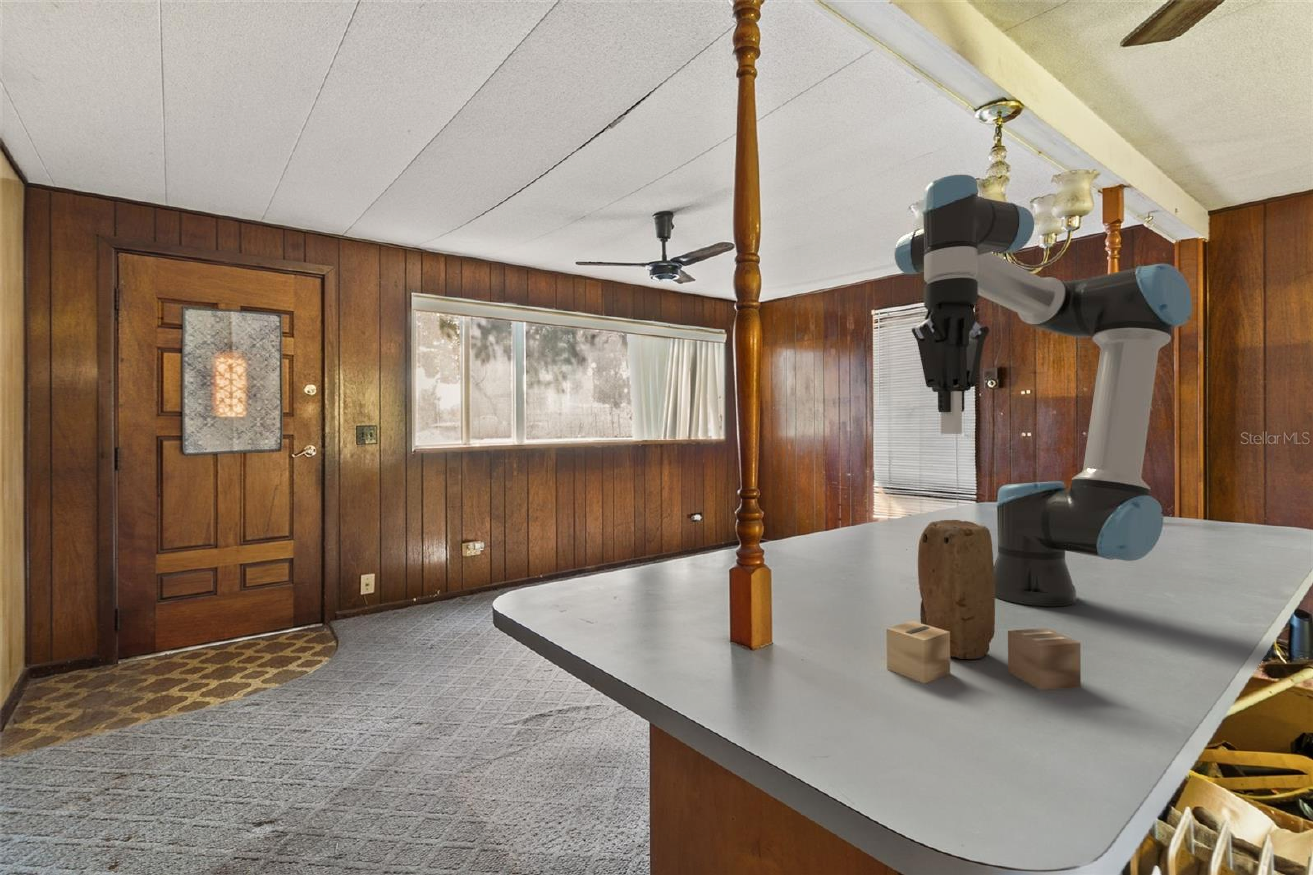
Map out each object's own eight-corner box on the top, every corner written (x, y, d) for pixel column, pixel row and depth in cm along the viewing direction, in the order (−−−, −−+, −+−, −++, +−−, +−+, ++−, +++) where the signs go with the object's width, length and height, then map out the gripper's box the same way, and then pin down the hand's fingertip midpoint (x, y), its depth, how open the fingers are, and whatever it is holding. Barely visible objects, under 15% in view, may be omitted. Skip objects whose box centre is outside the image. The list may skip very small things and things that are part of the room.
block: (1000, 660, 91) (999, 526, 91) (956, 664, 90) (955, 529, 89) (951, 635, 102) (950, 516, 102) (911, 639, 100) (910, 518, 100)
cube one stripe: (912, 660, 92) (912, 620, 92) (950, 673, 87) (949, 631, 87) (887, 669, 89) (886, 627, 89) (924, 684, 84) (923, 639, 84)
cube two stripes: (1046, 669, 88) (1046, 627, 88) (1080, 687, 82) (1080, 642, 82) (1008, 672, 87) (1007, 630, 87) (1039, 690, 81) (1039, 645, 81)
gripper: (965, 288, 100) (966, 432, 101) (898, 284, 96) (899, 434, 97) (1003, 278, 93) (1004, 433, 93) (933, 272, 89) (934, 434, 90)
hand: (951, 433), depth 95 cm, fingers closed
